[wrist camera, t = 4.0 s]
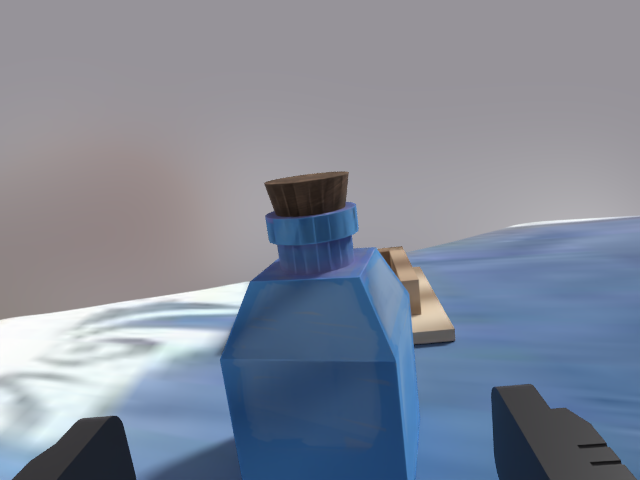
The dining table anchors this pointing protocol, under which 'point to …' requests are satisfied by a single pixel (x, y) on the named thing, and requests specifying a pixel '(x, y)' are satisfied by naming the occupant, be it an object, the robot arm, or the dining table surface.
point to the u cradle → (420, 300)
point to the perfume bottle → (322, 349)
